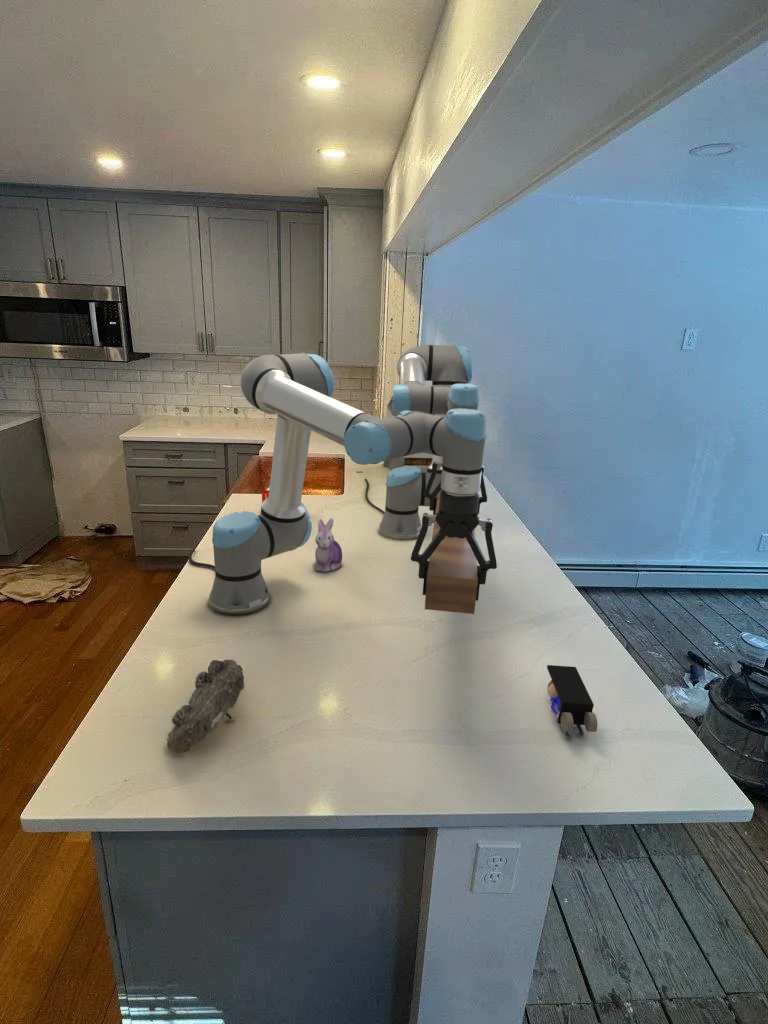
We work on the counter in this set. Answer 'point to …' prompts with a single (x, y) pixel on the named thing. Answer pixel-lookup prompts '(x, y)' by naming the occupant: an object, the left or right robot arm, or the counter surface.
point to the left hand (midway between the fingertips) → (450, 594)
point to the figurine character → (570, 699)
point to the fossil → (206, 705)
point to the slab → (451, 575)
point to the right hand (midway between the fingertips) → (453, 523)
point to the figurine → (327, 548)
